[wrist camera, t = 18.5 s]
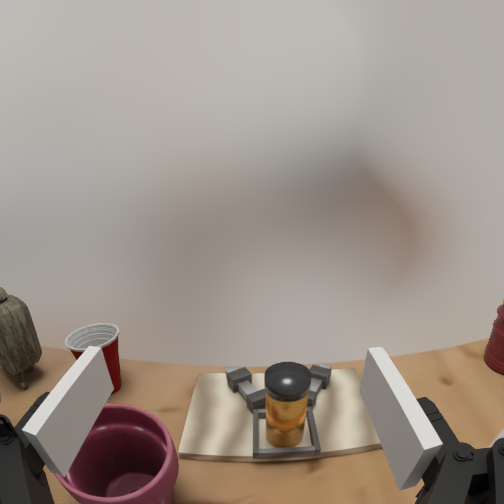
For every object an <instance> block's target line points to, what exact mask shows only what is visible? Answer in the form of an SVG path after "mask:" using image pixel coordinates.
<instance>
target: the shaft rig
mask: <svg viewBox="0 0 504 504" xmlns="http://www.w3.org/2000/svg"><path fill="white" fill-rule="evenodd" d="M330 368H331V366H329V365H325V364H320V365H319V366H315V365H312V367H311V368H310V372H311V375H312V377H311V386H310V391H309V394H308V403H307V411H306V420H305V427H304V435H303V439H302V441H301V443H300V444H298V445H297V446H295V447H292V448H276V447H274V446H272V445H270V444H269V443H268V441H267V440H266V392H265V387H264V375H265V373H263V374H251V373H250V372H249V371H248V370H247V369H246V368H245V367H244V368H241V369H237V368H236V367H232V368H229V369H225V370H226V374H221V373H198V377H197V381H196V384H195V388H194V392H193V396H192V400H191V404H190V408H189V411H188V415H187V419H186V423H185V427H184V431H183V435H182V439H181V443H180V447H179V451H178V453H179V456H180V458H185V459H195V460H209V461H230V462H270V461H291V460H304V459H315V458H324V457H332V456H340V455H346V454H353V453H359V452H364V451H370V450H375V449H380V448H383V447H382V445H381V443H380V440H379V438H378V435H377V433H376V430H375V428H374V425H373V423H372V421H371V418H370V416H369V413H368V411H367V409H366V406H365V404H364V402H363V399H362V397H361V395H360V392H359V389H360V385H361V380H360V378H359V376H358V374H357V372H356V369H355V368H346V369H336V370H332V369H330Z"/></svg>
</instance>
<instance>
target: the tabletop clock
mask: <svg viewBox="0 0 504 504" xmlns="http://www.w3.org/2000/svg"><path fill="white" fill-rule="evenodd" d="M41 355H42V350H41V347H40V343H39V340H38V337H37V334H36V330H35V327H34V324H33V321H32V318H31V315H30V312H29V310H28V307H27V306H26V304H25V303H24V302H23V301H21V300H20V299H18V298H17V297H15V296H12V295H8V294H7V293H6V292H5V290H4V289H3V288H1V287H0V364H1V365H2V367H3V368H4V369H5V370H6V371H7V372H8V373H9V374H10V375H12V376H14V375H16V374H18V373H19V372H20V374H21V378H22V382H21V386H22V388H24V389H26V388H27V387H28V384H27V382H25V381H24V369H26V368H27V369H28V370H32V368H33V367H32V365H33V364H35V363H37V362H38V361H39V359H40V357H41Z"/></svg>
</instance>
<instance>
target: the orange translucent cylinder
mask: <svg viewBox="0 0 504 504" xmlns="http://www.w3.org/2000/svg"><path fill="white" fill-rule="evenodd" d="M311 377H312V375H311V372H310V370H309V369H308V368H307V367H305V366H304V365H302V364H299V363H294V362H281V363H277V364H274V365H272V366H270V367H269V368H268V369H267V370H266V372H265V375H264V387H265V392H266V440H267V441H268V443H269V444H270V445H272V446H274V447H276V448H292V447H295V446H297V445H298V444H300V443H301V441H302V439H303V435H304V427H305V420H306V411H307V403H308V394H309V391H310V386H311Z"/></svg>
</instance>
